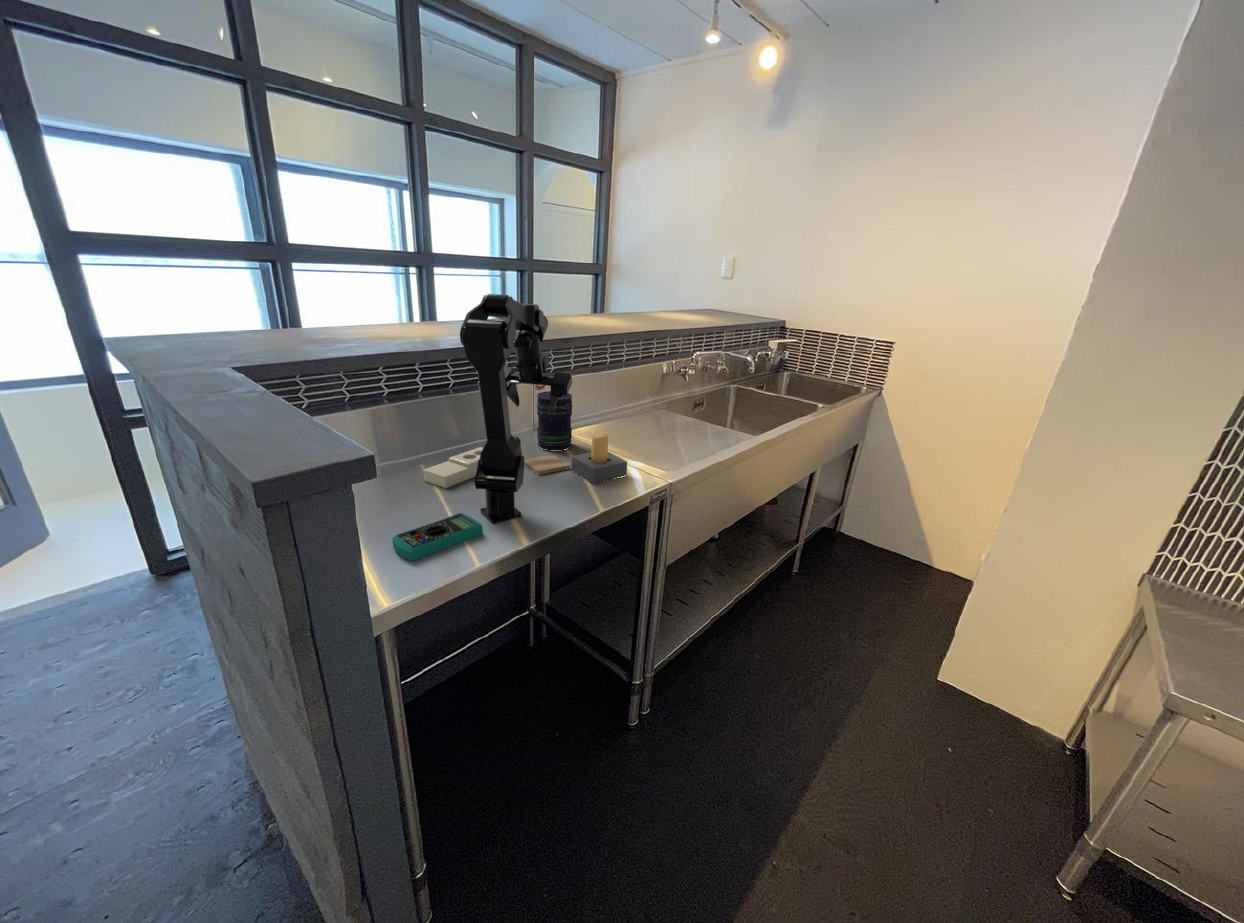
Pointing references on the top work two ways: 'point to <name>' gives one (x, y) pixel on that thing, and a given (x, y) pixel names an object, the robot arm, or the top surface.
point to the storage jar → (554, 422)
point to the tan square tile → (545, 464)
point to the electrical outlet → (454, 469)
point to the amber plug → (599, 448)
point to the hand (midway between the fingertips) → (535, 407)
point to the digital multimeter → (436, 536)
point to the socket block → (598, 468)
